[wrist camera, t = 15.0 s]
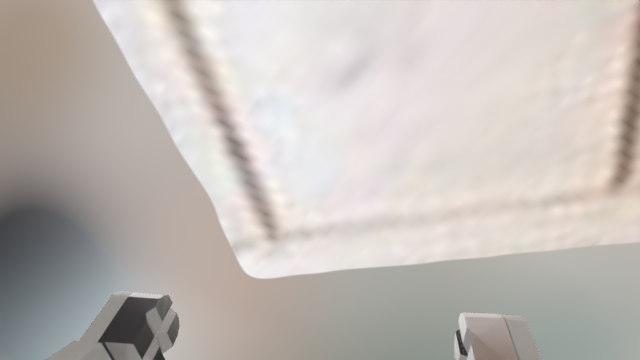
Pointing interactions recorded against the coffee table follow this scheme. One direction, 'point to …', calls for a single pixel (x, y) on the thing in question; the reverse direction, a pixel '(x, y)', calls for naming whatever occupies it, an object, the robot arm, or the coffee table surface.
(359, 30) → the coffee table surface
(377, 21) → the coffee table surface
